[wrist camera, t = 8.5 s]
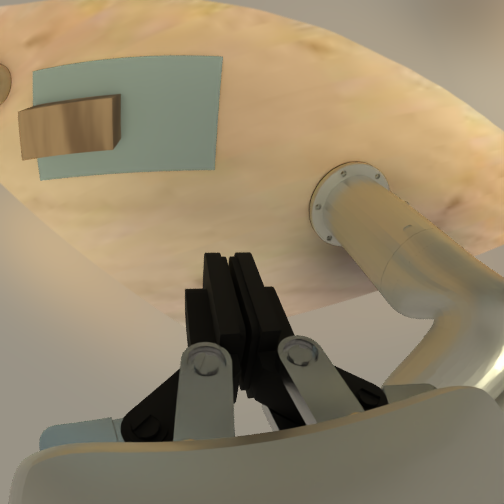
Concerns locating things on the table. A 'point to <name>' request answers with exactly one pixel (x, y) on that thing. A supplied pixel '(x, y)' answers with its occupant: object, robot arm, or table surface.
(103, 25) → the table surface
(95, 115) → the block
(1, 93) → the candle
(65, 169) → the mat
